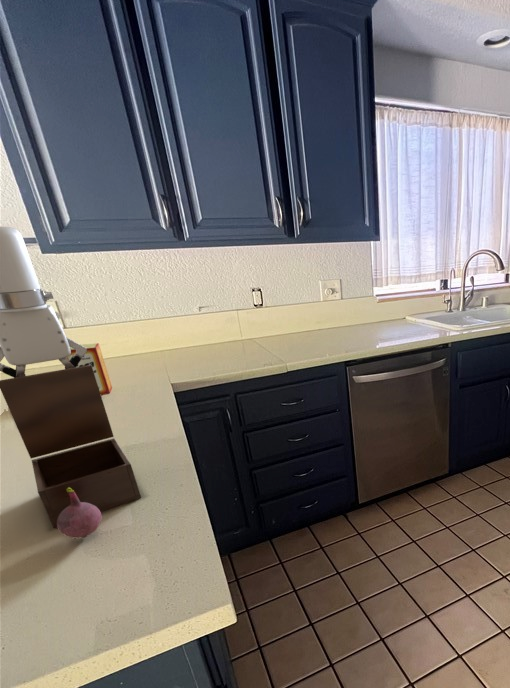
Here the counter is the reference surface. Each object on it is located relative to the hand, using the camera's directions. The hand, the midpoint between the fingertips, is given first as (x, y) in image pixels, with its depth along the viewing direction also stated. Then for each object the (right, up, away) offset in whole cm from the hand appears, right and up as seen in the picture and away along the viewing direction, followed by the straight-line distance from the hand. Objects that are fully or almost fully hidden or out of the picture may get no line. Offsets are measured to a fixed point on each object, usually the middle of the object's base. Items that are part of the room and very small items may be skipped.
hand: (53, 392), depth 86 cm
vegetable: (+15, -27, -11) cm, 32 cm away
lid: (+3, -4, -1) cm, 5 cm away
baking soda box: (-31, +5, +59) cm, 67 cm away
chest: (+7, -21, +1) cm, 22 cm away
